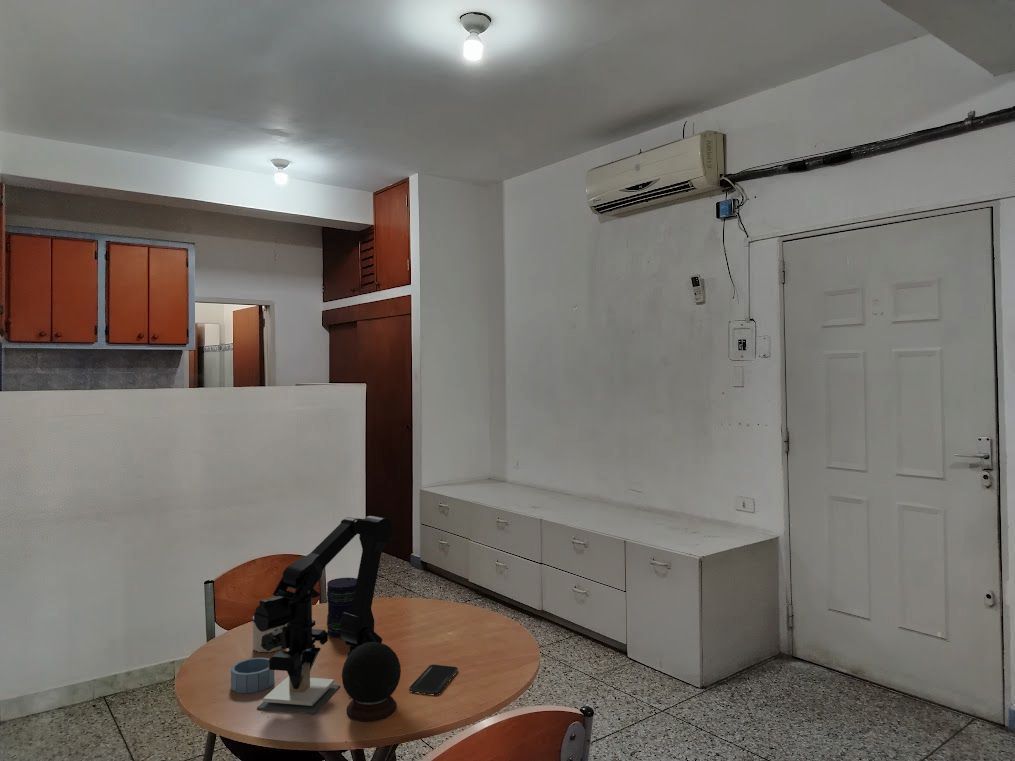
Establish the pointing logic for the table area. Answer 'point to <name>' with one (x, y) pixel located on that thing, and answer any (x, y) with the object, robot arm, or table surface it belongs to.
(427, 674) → the phone
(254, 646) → the teacup with lid
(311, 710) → the mat
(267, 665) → the bowl
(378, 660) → the black ball on stand
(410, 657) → the table surface
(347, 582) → the storage jar
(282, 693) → the lid
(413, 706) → the table surface
